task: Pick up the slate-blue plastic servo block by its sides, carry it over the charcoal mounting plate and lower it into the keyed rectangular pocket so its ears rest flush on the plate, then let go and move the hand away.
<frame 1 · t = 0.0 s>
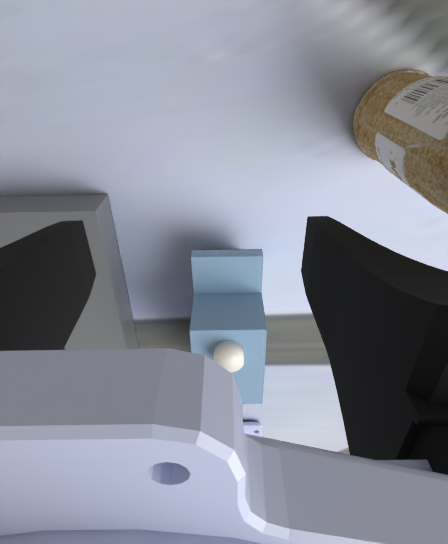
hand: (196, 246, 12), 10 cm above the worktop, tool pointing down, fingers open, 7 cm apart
servo block: (227, 299, 26), on the worktop
mounting plate: (40, 323, 27), on the worktop
sprinkles bottle: (393, 115, 19), on the worktop
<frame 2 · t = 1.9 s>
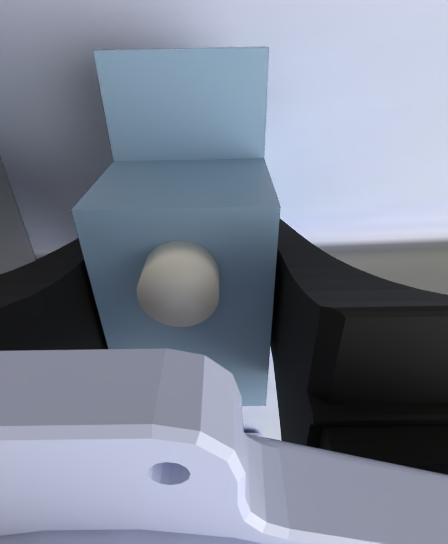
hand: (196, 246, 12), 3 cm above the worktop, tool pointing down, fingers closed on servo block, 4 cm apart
servo block: (200, 213, 14), on the worktop, touching gripper
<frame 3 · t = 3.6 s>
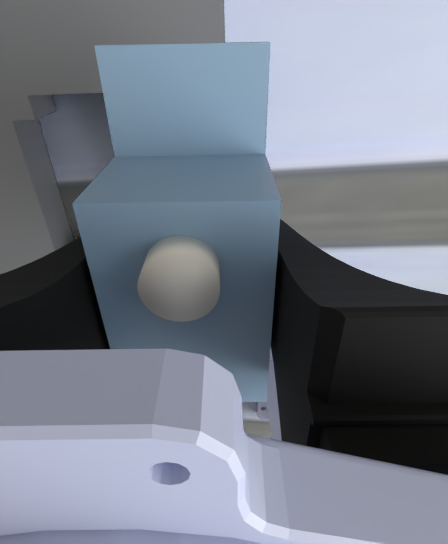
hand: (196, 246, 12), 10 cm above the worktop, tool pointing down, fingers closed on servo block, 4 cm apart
servo block: (201, 210, 14), point 7 cm above the worktop, touching gripper
mounting plate: (104, 181, 20), on the worktop
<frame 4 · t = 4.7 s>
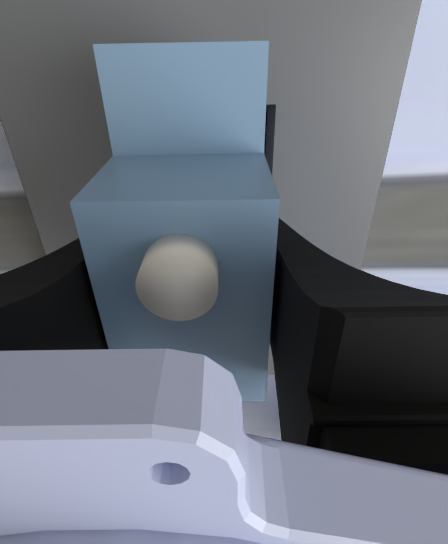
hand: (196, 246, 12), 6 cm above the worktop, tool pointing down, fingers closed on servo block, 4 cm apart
servo block: (200, 209, 14), point 3 cm above the worktop, touching gripper
mounting plate: (205, 185, 17), on the worktop
when the fingers open (4 cm above the worktop, at t = 5.4 s): servo block drops 1 cm, resting on mounting plate.
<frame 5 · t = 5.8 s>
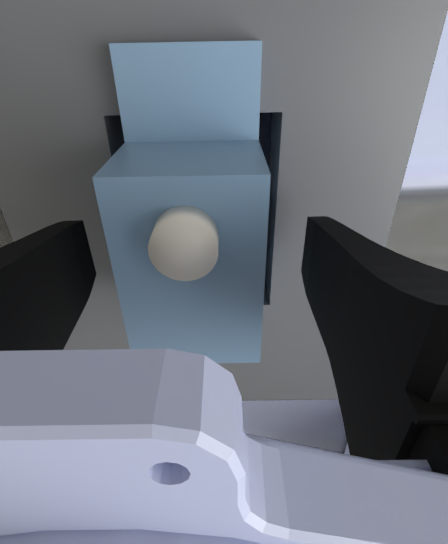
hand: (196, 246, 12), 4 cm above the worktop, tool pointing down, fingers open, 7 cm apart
servo block: (201, 196, 15), resting on mounting plate
mounting plate: (202, 199, 15), on the worktop
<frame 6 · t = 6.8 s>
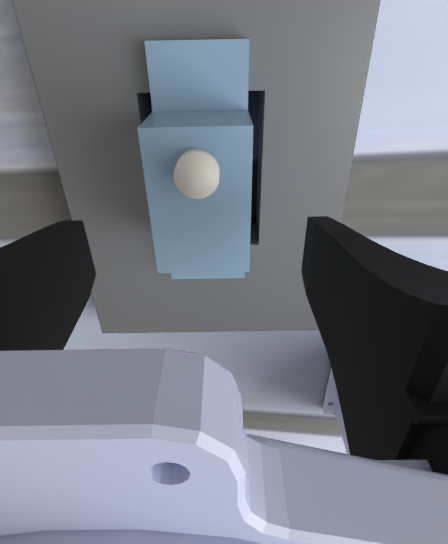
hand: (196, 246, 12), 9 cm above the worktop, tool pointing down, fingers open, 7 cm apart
servo block: (206, 160, 19), resting on mounting plate
mounting plate: (206, 162, 20), on the worktop
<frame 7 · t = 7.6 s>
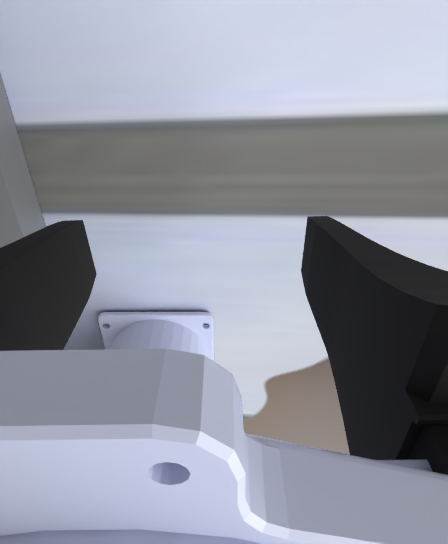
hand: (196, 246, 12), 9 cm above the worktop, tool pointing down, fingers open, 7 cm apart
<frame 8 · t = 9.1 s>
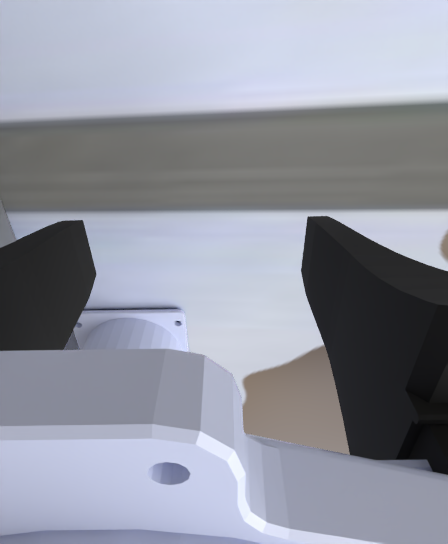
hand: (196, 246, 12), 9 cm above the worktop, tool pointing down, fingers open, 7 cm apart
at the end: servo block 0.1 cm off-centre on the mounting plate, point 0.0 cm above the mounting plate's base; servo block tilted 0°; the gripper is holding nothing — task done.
